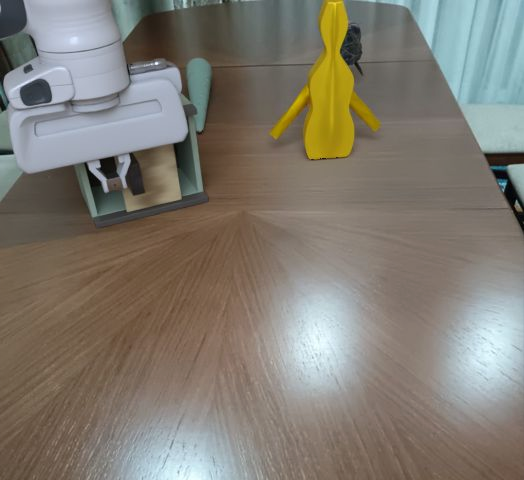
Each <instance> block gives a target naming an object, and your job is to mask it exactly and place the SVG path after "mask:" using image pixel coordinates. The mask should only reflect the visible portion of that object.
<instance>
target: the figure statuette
mask: <svg viewBox="0 0 524 480" xmlns="http://www.w3.org/2000/svg"><path fill="white" fill-rule="evenodd" d="M348 21H349V19H348V14H347V11H346V6H345V2H344V1H343V0H322V4H321V7H320V10H319V13H318V15H317V26H318V31H319V35H320V37H321V39H322V42H323V50H322V51H321V53H320V55H319V56H318V58H317V60H316V61H315V62H314V63H313V65H312V67H311V68H310V70H309V72H308V74H307V80H306V83H305V84H304V85H303V87H302V88H301V90H300V92H299V93H298V94H297V96H296V98H295V99H294V101H293V102H292V104H291V105H290V106H289V107H288V109H286V111H284V113H283V114H282V115H281V117H280V118H279V119H278V121H277V122H276V123H275V124H274V125H273V126H272V128H271V129H270V130H269V132H268V134H269V135H270V136H271V137H273V138H274V139H275V140H278V139H279V138H280V137H281V136H282V134H284V132H285V131H286V130H287V129H288V127H290V125H292V123H293V122H294V121H295V120H296V119H297V117H298V116H299V115H300V114H301V113H302V112H303V111H304V110H305V109H306V107H307V106H309V107H308V110H307V113H306V116H305V119H304V122H303V127H302V140H303V146H304V148H305V153H306V155H307V157H308V159H309V160H311V159H314V160H323V159H322V158H326V159H336V157H338V158H346V157H348V156H349V155H350V154H351V152H352V149H353V146H354V141H355V124H354V120H353V117H352V114H351V111H350V109H351V110H352V111H353V112H354V114H356V115H357V116H358V118H359V119H361V121H362V122H364V123H365V124H366V125H367V126H368V127H369V128H370V129H371V130H372V131H373V132H375V133H376V132H377V131H378V129H380V128H381V126H382V124H381V122H380V121H379V120H378V118H377V117H376V115H375V114H374V113H373V112H372V110H371V109H370V108H369V106H368V105H367V104H366V103H365V102H364V101H363V100H362V99H361V98H360V97H359V96H358V93H356V92H355V90H354V87H355V78H354V74H353V72H352V70H351V68H350V67H349V66H348V65H347V64H346V62H345V61H344V59H343V58H342V56H341V55H340V48H341V45H342V43H343V40H344V38H345V35H346V33H347V29H348ZM320 158H321V159H320Z"/></svg>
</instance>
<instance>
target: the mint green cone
mask: <svg viewBox="0 0 524 480" xmlns="http://www.w3.org/2000/svg"><path fill="white" fill-rule="evenodd" d="M212 77H213V70H212V67H211V64H210V63H209V62H208V61H207V60H206V59H204V58H202V57H194V58H192V59H190V60H189V61H188V62H187V65H186V66H185V80H186V85H187V93H188V99H189V101H190V102H191V103H192V104H193V105H194V106H195V107H196V108H197V114H196V115H194V122H195V130H196V132H197V131H202V130H203V131H204V129H205V124H206V118H207V112H208V106H209V100H210V93H211V85H212Z"/></svg>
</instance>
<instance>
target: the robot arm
mask: <svg viewBox="0 0 524 480" xmlns="http://www.w3.org/2000/svg"><path fill="white" fill-rule="evenodd" d="M19 34H26V35H29V36H30V37H31V38H32V39H33V42H34V44H35V47H36V51H37V54H38V55H37V56H36V57H34V58H33V59H30V60H29V61H27V62H25V63H24V64H22V65H20V66H18V67H16V68H14V69H13V70H11V71H9V72H7V73H6V74H5V75H4V79H3V90H4V93H5V96H6V98H7V100H8V104H7V107H6V119H7V120H6V122H7V127H8V133H9V139H10V143H11V147H12V151H13V154H14V159H15V162H16V165H17V168H18V169H19V170H20V171H22V172H23V173H25V174H27V175H32V174H37V173H42V172H46V171H51V170H56V169H60V168H65V167H70V166H74V165H75V164H80V163H84V162H86V163H87V165H88V168H89V170H90V171H91V172H92V173H93V174H94V175H95V176H96V177H97V178H98V179H99V180H100V181H101V184H102V188H103V190H104V192H105V193H109V192H113V191H117V190H122V189H126V188H127V184H126V180H125V176H126V173H127V170H128V168H129V165H130V162H131V160H130V156H129V153H131V152H136V151H140V150H145V149H150V148H154V147H159V146H164V145H168V144H173V143H178V142H182V141H184V140H185V138H186V136H187V134H188V125H187V120H186V116H185V112H184V109H183V105H182V102H181V99H180V96H179V95H180V93H182V89H183V81H182V75H181V74H182V73H181V71H180V68H179V67H178V66H177V64H175V63H174V62H171V61H169V60H167V59H166V58H162V57H161V58H154V59H153V60H146V61H145V60H144V61H143V60H142V61H135V62H129V63H127V59H126V55H125V50H124V45H123V40H122V35H121V31H120V29H119V26H118V24H117V22H116V20H115V18H114V14H113V9H112V0H0V41H5V40H8V39H10V38H12V37H15V36H17V35H19ZM112 156H116V157H117V159H118V161H119V164H118V168H117V172H113V173H109V174H104V173H103V172H102V171H101V170H100V169H99V168H100V167H101V165H100V161H99V159H103V158H108V157H112Z"/></svg>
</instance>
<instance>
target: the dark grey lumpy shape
mask: <svg viewBox="0 0 524 480" xmlns="http://www.w3.org/2000/svg"><path fill="white" fill-rule="evenodd" d="M360 25H361V22H360V23H357V22H355V21H353V20H348V29H347V33H346V35H345V38H344V40H343V43H342V45H341V48H340V55H341V56H342V58H343V59H344V61H345V62H346V64H347V65H348V67H349V66H353V65H354V66H355V69H356V70H357V72H358V73H359V74H360V75H361V76H362V77H365V74H364V71H363V70H362V68H361V65H360V64H359V61H360V59H361V58H362V55H363V45H362V41H361V39H362V32H361V27H360Z"/></svg>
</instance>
